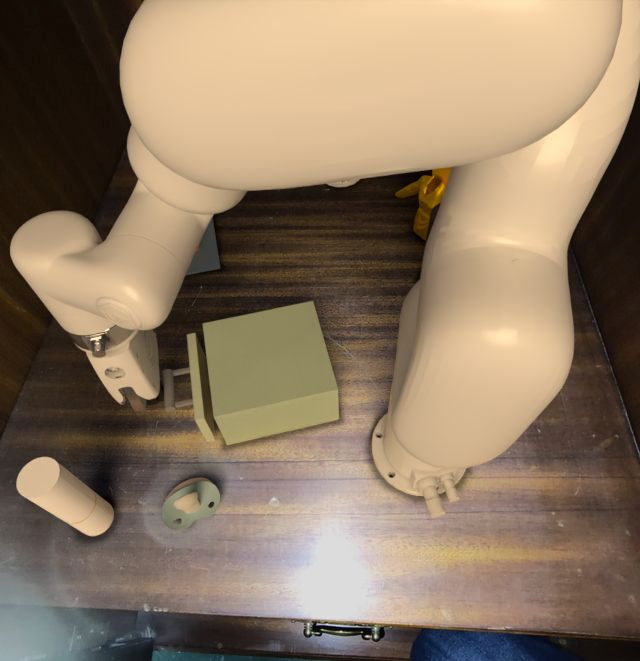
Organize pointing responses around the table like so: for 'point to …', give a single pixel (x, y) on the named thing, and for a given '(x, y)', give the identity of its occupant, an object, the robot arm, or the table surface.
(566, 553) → the table surface
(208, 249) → the mat
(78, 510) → the tube
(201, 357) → the drawer
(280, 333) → the cabinet
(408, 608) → the table surface
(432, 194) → the figure statuette
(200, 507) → the pacifier
